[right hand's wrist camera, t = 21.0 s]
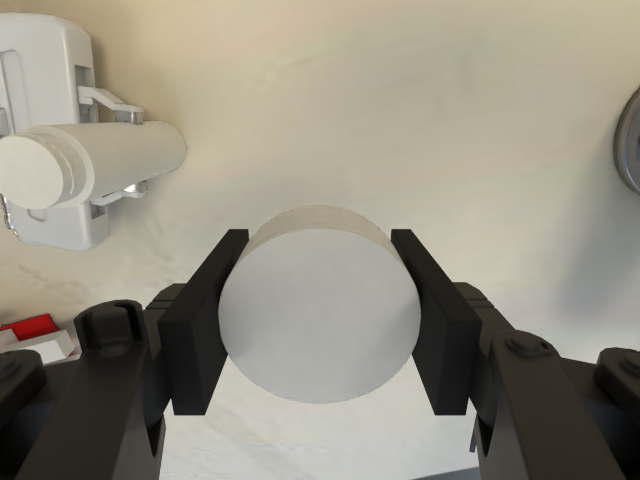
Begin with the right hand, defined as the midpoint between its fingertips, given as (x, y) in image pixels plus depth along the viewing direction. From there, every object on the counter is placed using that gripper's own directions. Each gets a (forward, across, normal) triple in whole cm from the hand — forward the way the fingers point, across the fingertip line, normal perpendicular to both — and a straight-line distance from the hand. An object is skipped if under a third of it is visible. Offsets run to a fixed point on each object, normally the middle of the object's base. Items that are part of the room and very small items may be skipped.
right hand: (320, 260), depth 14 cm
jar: (+26, +17, -2) cm, 31 cm away
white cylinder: (-4, 0, 0) cm, 4 cm away
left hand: (+20, +16, -2) cm, 26 cm away
